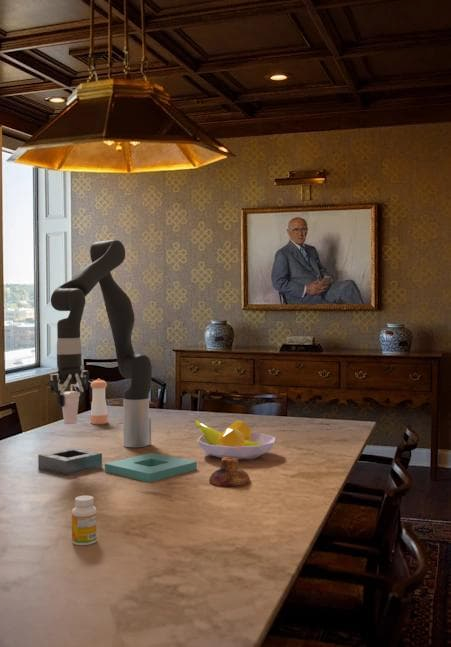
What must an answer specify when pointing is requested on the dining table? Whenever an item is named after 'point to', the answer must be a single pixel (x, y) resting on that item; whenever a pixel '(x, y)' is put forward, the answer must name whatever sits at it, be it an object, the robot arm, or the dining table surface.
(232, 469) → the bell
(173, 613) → the dining table surface
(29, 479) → the dining table surface
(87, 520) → the supplement bottle
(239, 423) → the fruit bowl
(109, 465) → the low socket
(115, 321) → the robot arm
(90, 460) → the tall socket
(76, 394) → the smoothie
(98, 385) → the pepper shaker
